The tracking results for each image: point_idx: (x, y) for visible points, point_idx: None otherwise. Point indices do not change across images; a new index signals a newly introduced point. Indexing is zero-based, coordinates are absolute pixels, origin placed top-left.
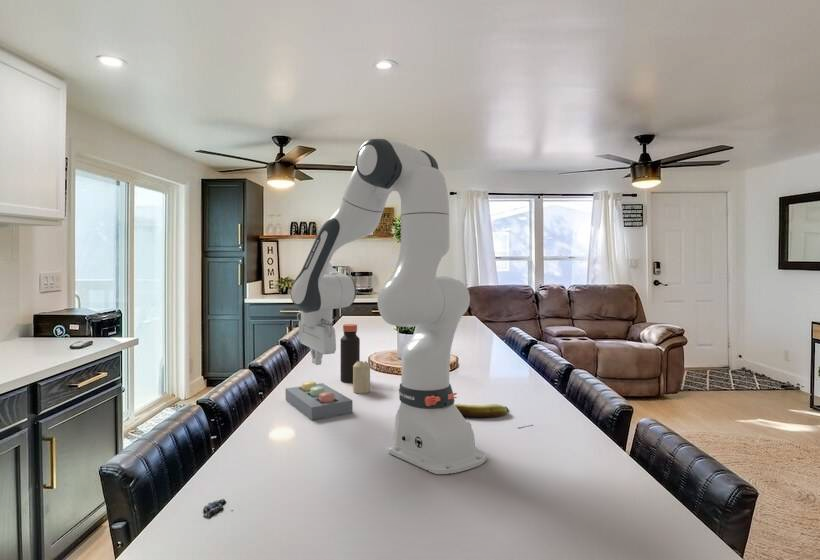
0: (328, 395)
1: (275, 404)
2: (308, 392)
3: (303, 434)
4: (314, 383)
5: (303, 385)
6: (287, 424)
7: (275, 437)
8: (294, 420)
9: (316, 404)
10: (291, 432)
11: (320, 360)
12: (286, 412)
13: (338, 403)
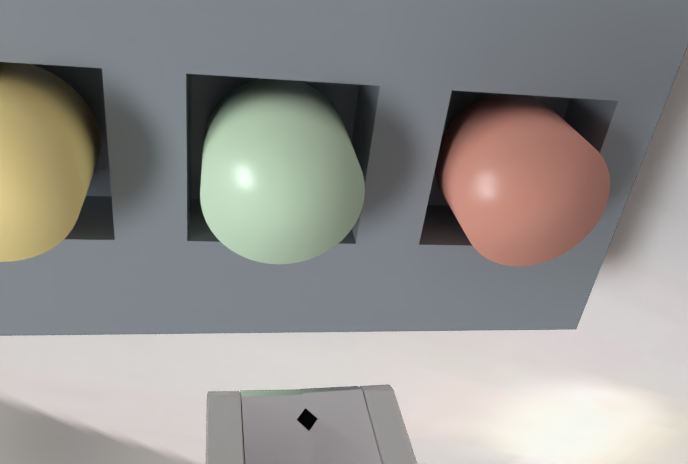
0: (585, 210)
1: (41, 353)
2: (165, 214)
3: (673, 365)
4: (34, 139)
5: (29, 251)
6: (488, 386)
7: (597, 457)
8: (458, 344)
9: (546, 282)
10: (603, 398)
11: (402, 446)
12: (279, 341)
13: (651, 125)
